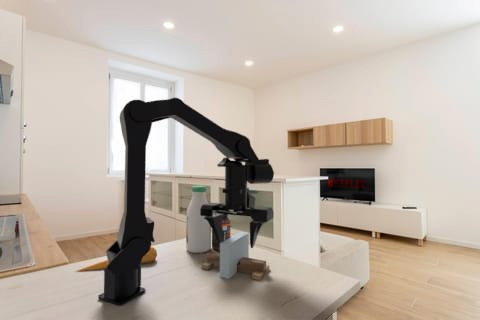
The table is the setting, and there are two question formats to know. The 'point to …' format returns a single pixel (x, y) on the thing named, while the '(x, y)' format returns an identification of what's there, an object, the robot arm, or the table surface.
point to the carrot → (101, 265)
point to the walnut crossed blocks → (240, 265)
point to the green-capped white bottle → (197, 223)
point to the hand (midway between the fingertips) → (235, 245)
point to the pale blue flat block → (233, 253)
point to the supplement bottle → (225, 232)
